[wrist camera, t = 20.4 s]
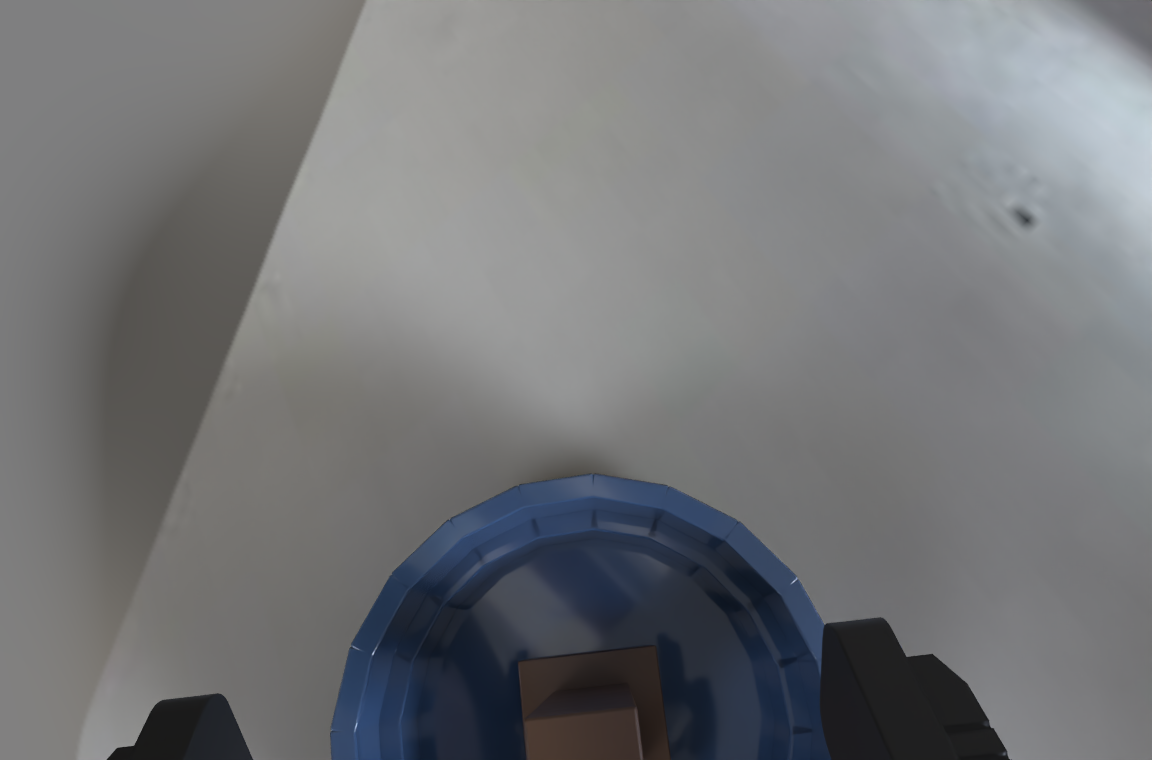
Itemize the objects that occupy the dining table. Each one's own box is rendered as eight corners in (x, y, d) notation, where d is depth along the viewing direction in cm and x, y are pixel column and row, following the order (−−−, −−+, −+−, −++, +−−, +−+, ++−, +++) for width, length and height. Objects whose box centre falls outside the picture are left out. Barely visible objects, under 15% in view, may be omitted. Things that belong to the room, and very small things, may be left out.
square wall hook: (535, 803, 29) (487, 909, 18) (523, 659, 31) (470, 672, 19) (672, 787, 29) (710, 884, 18) (653, 644, 31) (678, 648, 19)
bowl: (490, 1056, 28) (458, 1165, 22) (320, 617, 32) (258, 612, 26) (896, 827, 29) (965, 873, 24) (681, 437, 34) (696, 395, 28)
